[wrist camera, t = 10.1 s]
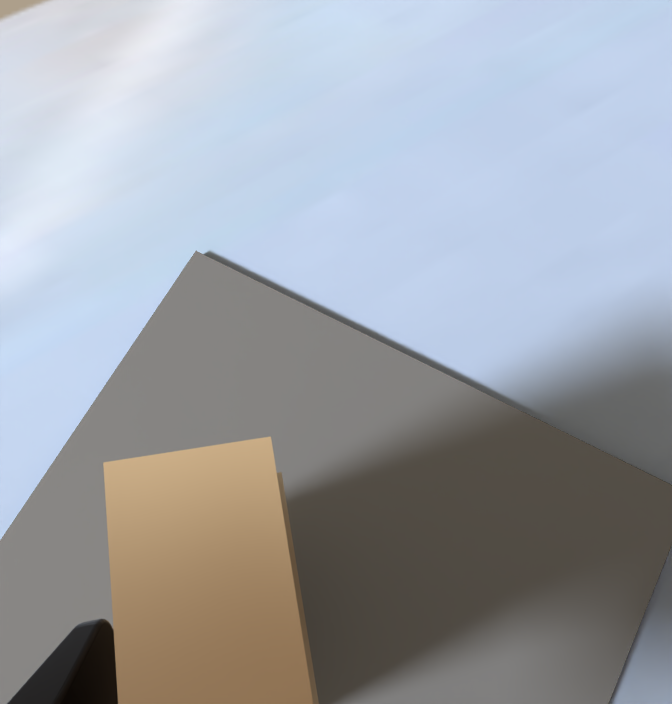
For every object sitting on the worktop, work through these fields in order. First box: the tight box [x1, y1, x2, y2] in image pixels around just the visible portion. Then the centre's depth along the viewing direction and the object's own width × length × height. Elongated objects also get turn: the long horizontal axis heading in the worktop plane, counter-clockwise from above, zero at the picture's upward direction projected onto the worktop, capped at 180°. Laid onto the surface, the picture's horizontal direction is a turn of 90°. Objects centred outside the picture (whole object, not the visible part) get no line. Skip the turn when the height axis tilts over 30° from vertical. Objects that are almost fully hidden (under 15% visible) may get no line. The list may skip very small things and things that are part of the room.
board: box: [103, 437, 319, 704], centre depth 12 cm, size 6×2×13 cm, turn 11°
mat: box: [0, 251, 672, 704], centre depth 18 cm, size 19×20×1 cm
